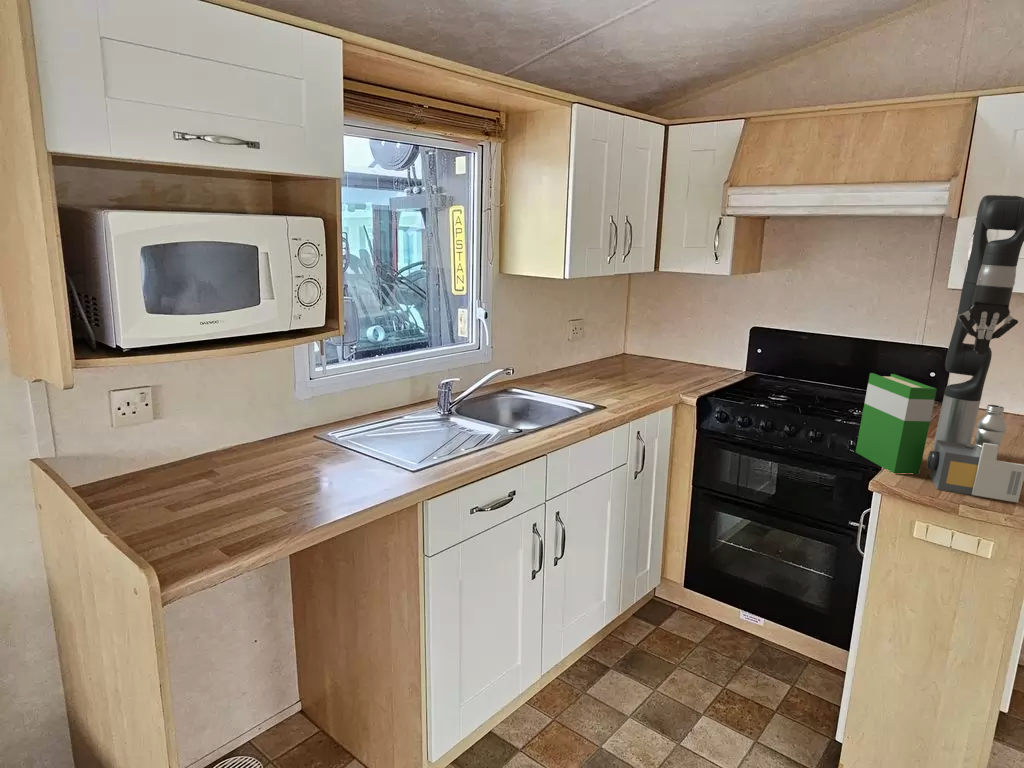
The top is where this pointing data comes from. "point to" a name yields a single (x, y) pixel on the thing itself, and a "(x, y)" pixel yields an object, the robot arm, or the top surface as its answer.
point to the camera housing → (954, 466)
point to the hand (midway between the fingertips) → (979, 353)
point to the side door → (997, 476)
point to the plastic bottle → (991, 427)
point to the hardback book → (895, 422)
